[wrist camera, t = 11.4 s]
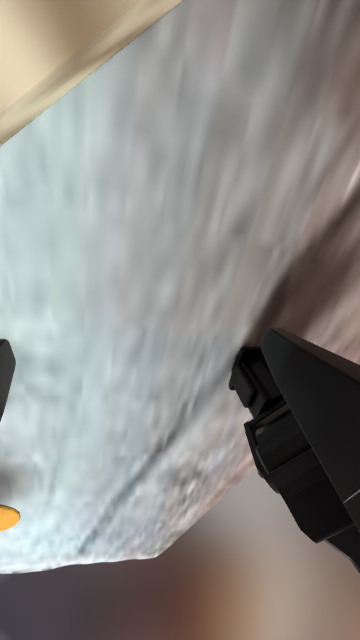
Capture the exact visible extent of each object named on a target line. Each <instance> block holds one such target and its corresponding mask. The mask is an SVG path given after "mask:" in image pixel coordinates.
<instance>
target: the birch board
mask: <svg viewBox="0 0 360 640" xmlns="http://www.w3.org/2000/svg"><path fill="white" fill-rule="evenodd" d="M182 1H183V0H0V146H1V145H2V144H3V143H5V142H6V141H7V140H9V139H10V138H11V137H12V136H14V135H15V134H16V133H17V132H19V131H20V130H21V129H22V128H24V127H25V126H26V125H27V124H29V123H30V122H31V121H32V120H34V119H35V118H36V117H37V116H39V115H40V114H41V113H42V112H44V111H45V110H46V109H47V108H49V107H50V106H51V105H52V104H54V103H55V102H56V101H57V100H59V99H60V98H61V97H62V96H64V95H65V94H66V93H67V92H69V91H70V90H71V89H72V88H74V87H75V86H76V85H78V84H79V83H80V82H81V81H83V80H84V79H85V78H86V77H88V76H89V75H90V74H91V73H93V72H94V71H95V70H96V69H98V68H99V67H100V66H101V65H103V64H104V63H105V62H106V61H108V60H109V59H110V58H111V57H113V56H114V55H115V54H116V53H118V52H119V51H120V50H121V49H123V48H124V47H125V46H126V45H128V44H129V43H130V42H131V41H133V40H134V39H135V38H136V37H138V36H139V35H140V34H142V33H143V32H144V31H145V30H147V29H148V28H149V27H150V26H152V25H153V24H154V23H155V22H157V21H158V20H159V19H160V18H162V17H163V16H164V15H165V14H167V13H168V12H169V11H170V10H172V9H173V8H174V7H175V6H177V5H178V4H179V3H180V2H182Z"/></svg>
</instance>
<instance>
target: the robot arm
mask: <svg viewBox="0 0 360 640" xmlns="http://www.w3.org/2000/svg"><path fill="white" fill-rule="evenodd" d="M244 352H245V353H244ZM15 365H16V361H15V357H14V354H13V351H12V349H11V346H10V343H9V341H8V340H6V339H0V421H1V418H2V415H3V413H4V409H5V406H6V402H7V398H8V394H9V390H10V386H11V382H12V378H13V374H14V370H15ZM229 388H230V390H236V392H237V394H238V396H239V398H240V400H241V402H242V404H243V406H244V407H245V408H248V409H249V410H250V412H251V414H252V416H253V419H252V420H251V421H249V422H248V421H247V422H246V423H244V427H245V431H246V432H245V433H246V436H247V439H248V442H249V445H250V449H251V452H252V455H253V458H254V461H255V465H256V467H257V470H258V474H259V475H260V477H262V478H264V479H265V480H266V482H267V483H268V484H269V486H270V487H271V488H272V489H273V490H274V491H275V492H276V493H278V494H281V496H282V498H283V499H284V501H285V503H286V504H287V506H288V508H289V509H290V512H291V513H292V515H293V517H294V519H295V521H296V522H297V525H298V526H299V528H300V529H301V531H303V532H304V533H305V534H306V535H307V536H308V537H309V538H310V539H311V540H312V541H314V542H315V543H319V542H322V541H325V542H326V543H328V544H329V545H330V546H332V547H333V548H334V549H336V550H337V551H339V552H340V553H341V554H343V555H344V556H345V557H347V558H348V559H349V560H350V561H351V562H352V563H353V564H354V566H355V567H356V569H357V570H358V572H359V573H360V365H358V364H356V363H354V362H352V361H350V360H347V359H345V358H343V357H341V356H339V355H337V354H334V353H332V352H330V351H328V350H326V349H324V348H321V347H319V346H317V345H315V344H313V343H311V342H308V341H306V340H304V339H302V338H300V337H298V336H296V335H293V334H291V333H289V332H287V331H285V330H283V329H280V328H268V329H267V330H266V332H265V335H264V337H263V340H262V342H261V347H250V348H243V349H242V350H241V351H240V354H239V357H238V360H237V363H236V365H235V368H234V370H233V373H232V376H231V379H230V383H229Z"/></svg>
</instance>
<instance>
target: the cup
mask: <svg viewBox="0 0 360 640" xmlns="http://www.w3.org/2000/svg"><path fill="white" fill-rule="evenodd" d="M19 520H20V515H19V513H18V512H17V511H15V510H14V509H12V508H9V507H5V506H0V531H3V530H7V529H9V528H11V527H12V526H14V525H16V523H17V522H18V521H19Z"/></svg>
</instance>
